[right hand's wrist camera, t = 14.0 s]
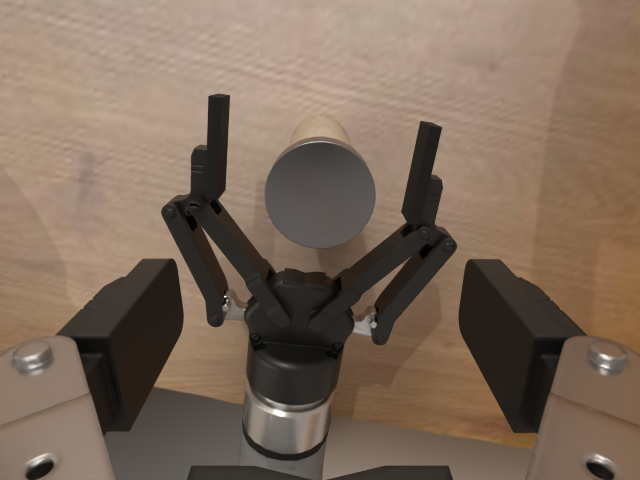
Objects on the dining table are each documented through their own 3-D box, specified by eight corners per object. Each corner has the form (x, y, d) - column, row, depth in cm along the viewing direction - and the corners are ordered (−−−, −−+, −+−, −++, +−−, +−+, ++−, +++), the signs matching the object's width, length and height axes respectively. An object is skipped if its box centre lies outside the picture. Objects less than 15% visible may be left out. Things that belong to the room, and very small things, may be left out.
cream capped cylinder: (355, 158, 35) (380, 219, 20) (305, 178, 35) (295, 251, 21) (335, 105, 33) (346, 132, 19) (283, 128, 34) (257, 169, 20)
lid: (386, 215, 22) (390, 226, 20) (293, 250, 22) (291, 263, 21) (349, 118, 20) (352, 122, 18) (250, 161, 21) (245, 167, 19)
